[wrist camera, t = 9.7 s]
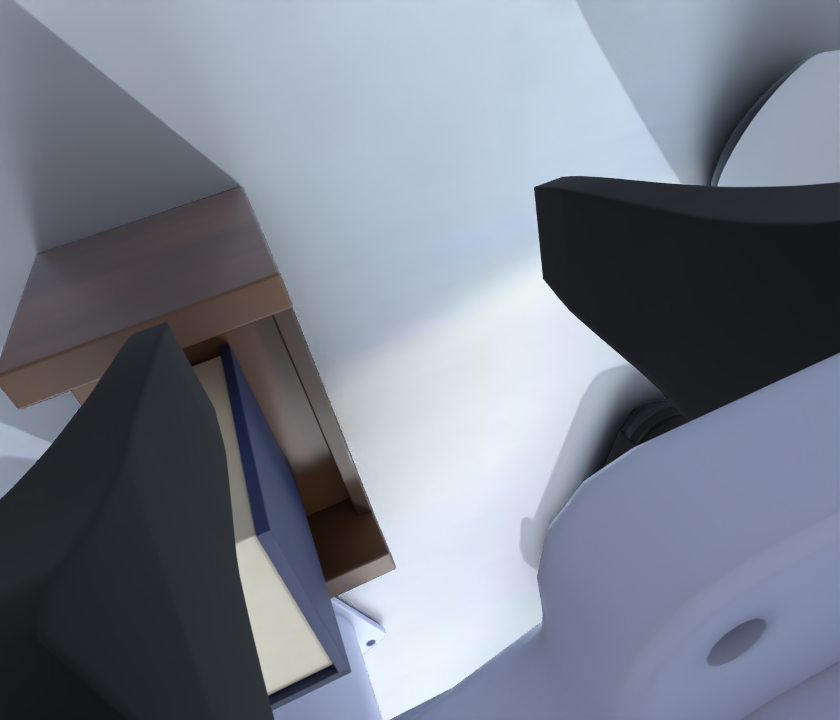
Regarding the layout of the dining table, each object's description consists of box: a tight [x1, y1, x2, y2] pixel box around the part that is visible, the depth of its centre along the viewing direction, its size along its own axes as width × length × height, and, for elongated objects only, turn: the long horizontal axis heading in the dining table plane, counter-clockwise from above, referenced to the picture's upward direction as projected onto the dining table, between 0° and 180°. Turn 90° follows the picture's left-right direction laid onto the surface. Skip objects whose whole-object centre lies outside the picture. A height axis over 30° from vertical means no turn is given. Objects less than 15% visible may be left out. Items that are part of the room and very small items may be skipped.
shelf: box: [0, 187, 396, 599], centre depth 20 cm, size 6×12×7 cm, turn 13°
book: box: [192, 344, 351, 711], centre depth 17 cm, size 3×6×8 cm, turn 13°
